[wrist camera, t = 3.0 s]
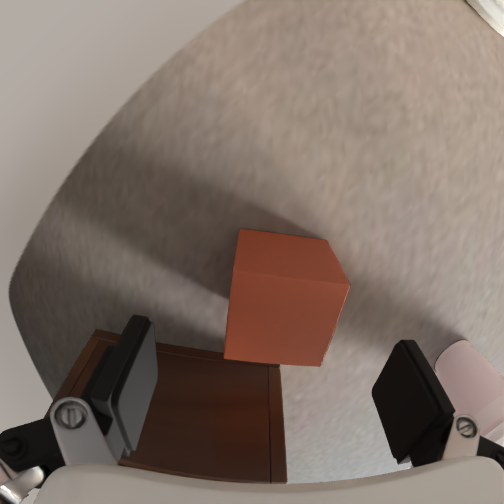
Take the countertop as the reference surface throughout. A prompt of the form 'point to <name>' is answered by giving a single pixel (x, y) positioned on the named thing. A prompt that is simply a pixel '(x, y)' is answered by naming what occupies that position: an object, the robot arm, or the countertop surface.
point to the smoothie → (473, 388)
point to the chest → (202, 415)
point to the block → (283, 299)
